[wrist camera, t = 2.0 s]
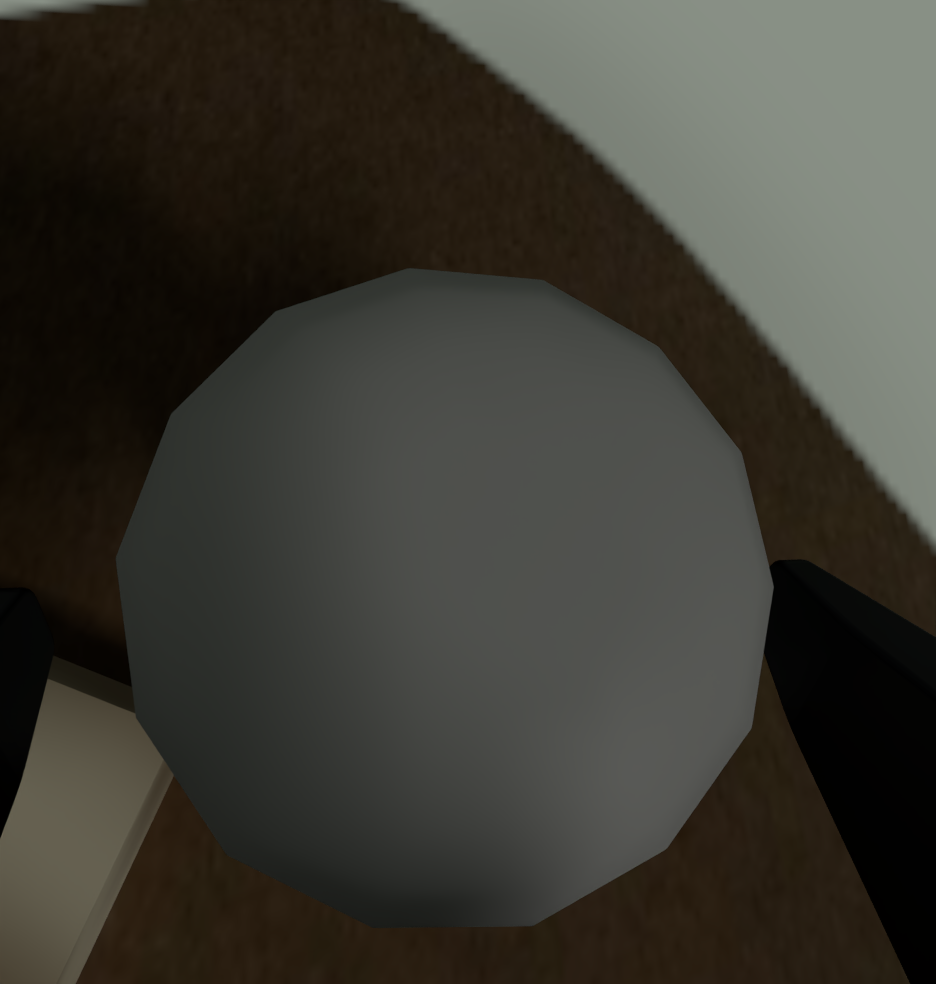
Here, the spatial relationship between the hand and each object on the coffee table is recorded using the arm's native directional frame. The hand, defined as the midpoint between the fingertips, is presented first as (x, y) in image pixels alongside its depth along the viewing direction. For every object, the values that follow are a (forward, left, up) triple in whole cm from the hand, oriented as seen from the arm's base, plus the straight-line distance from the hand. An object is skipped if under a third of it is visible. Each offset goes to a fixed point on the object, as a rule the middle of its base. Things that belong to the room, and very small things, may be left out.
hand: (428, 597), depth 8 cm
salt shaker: (0, 0, -8) cm, 8 cm away
